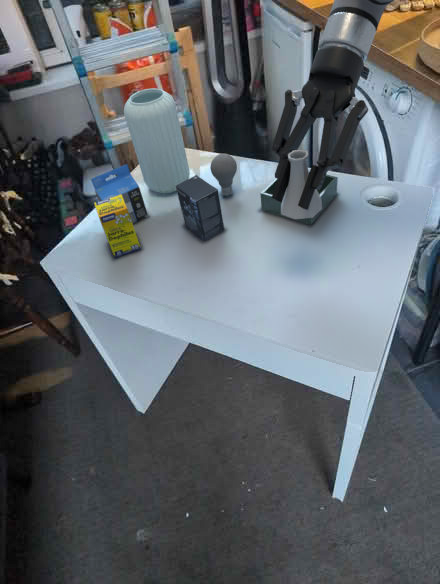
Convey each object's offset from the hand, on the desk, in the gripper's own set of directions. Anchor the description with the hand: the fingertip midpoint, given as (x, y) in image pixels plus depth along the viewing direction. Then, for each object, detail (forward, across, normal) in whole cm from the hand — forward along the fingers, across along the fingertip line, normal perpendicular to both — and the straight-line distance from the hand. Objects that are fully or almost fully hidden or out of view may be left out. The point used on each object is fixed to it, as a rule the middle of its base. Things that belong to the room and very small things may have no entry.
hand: (289, 203), depth 70 cm
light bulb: (0, +27, -24) cm, 36 cm away
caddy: (-3, +10, -27) cm, 29 cm away
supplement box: (+18, +36, -6) cm, 41 cm away
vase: (+2, +43, -22) cm, 48 cm away
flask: (0, 0, -5) cm, 5 cm away
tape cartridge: (+13, +42, -11) cm, 45 cm away
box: (+9, +24, -15) cm, 29 cm away
